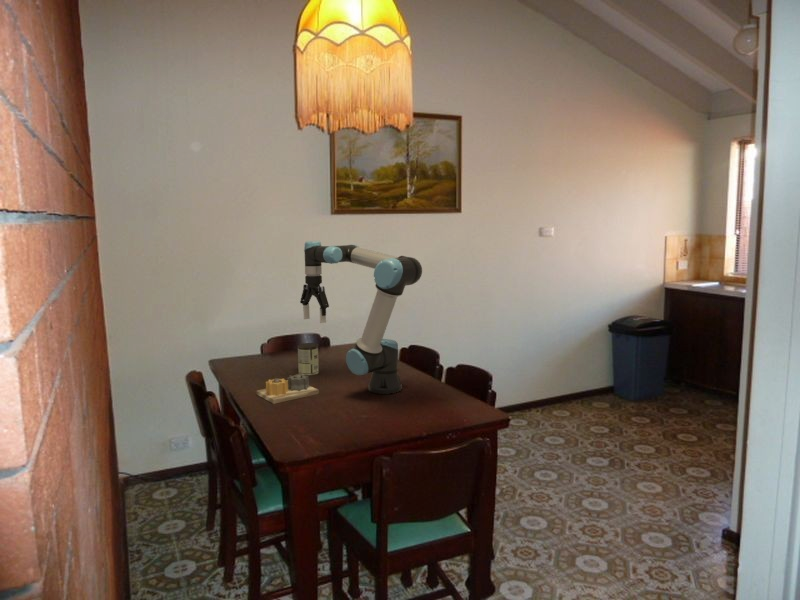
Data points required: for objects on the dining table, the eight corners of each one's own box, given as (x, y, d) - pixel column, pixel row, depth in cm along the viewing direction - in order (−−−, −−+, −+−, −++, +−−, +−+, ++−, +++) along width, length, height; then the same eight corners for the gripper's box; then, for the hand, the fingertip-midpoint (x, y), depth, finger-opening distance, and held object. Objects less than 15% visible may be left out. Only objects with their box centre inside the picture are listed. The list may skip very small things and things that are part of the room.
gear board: (318, 393, 256) (318, 376, 255) (273, 403, 242) (273, 385, 241) (300, 385, 268) (300, 369, 267) (256, 394, 255) (256, 377, 254)
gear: (291, 393, 251) (290, 381, 251) (272, 396, 246) (272, 385, 245) (281, 388, 258) (281, 377, 257) (263, 391, 253) (262, 380, 252)
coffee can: (301, 369, 296) (300, 342, 294) (321, 370, 295) (320, 343, 293) (295, 375, 286) (295, 347, 284) (316, 375, 285) (315, 347, 283)
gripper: (336, 276, 258) (337, 323, 261) (305, 272, 277) (306, 316, 280) (322, 277, 254) (323, 325, 256) (292, 273, 272) (293, 318, 275)
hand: (314, 320), depth 268 cm, fingers open, 13 cm apart
